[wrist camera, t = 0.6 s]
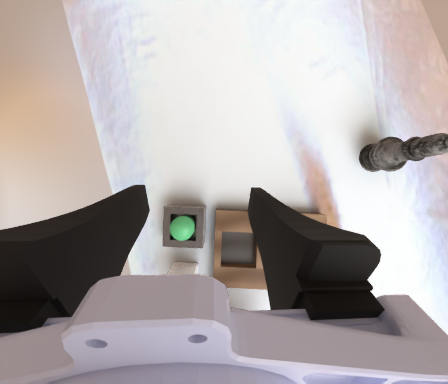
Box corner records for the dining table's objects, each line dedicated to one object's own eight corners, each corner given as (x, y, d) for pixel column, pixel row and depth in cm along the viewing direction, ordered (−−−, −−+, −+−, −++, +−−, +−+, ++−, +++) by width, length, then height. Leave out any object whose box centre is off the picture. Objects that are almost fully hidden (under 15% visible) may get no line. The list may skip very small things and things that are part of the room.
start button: (195, 236, 32) (193, 241, 29) (174, 235, 32) (169, 240, 29) (196, 214, 32) (193, 217, 29) (175, 214, 32) (170, 216, 29)
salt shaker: (363, 138, 33) (443, 109, 21) (393, 147, 33) (490, 123, 21) (353, 168, 33) (427, 156, 21) (383, 177, 33) (474, 170, 21)
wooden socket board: (316, 285, 33) (323, 292, 31) (213, 280, 34) (212, 286, 31) (320, 213, 33) (326, 215, 31) (216, 209, 33) (215, 210, 31)
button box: (205, 241, 33) (202, 248, 30) (169, 240, 34) (162, 246, 30) (206, 206, 33) (203, 208, 30) (170, 204, 33) (163, 206, 30)
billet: (197, 285, 34) (190, 306, 28) (174, 284, 34) (163, 305, 28) (197, 262, 34) (191, 279, 28) (175, 261, 34) (164, 277, 28)
